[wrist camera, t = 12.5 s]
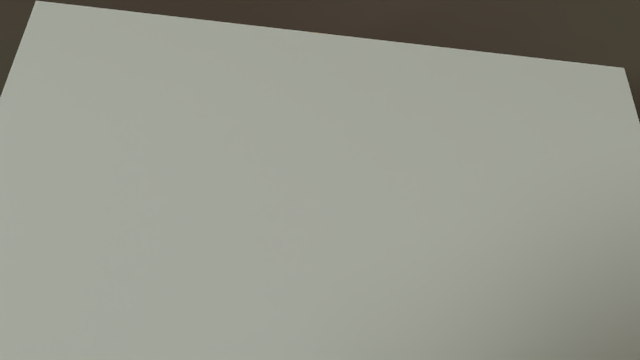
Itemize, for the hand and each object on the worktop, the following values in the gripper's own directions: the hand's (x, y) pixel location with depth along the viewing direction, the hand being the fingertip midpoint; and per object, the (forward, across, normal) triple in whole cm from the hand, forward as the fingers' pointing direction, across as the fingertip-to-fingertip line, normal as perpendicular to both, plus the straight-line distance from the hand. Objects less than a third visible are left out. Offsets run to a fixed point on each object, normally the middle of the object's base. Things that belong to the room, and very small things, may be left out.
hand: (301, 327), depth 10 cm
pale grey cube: (+2, 0, -1) cm, 3 cm away
